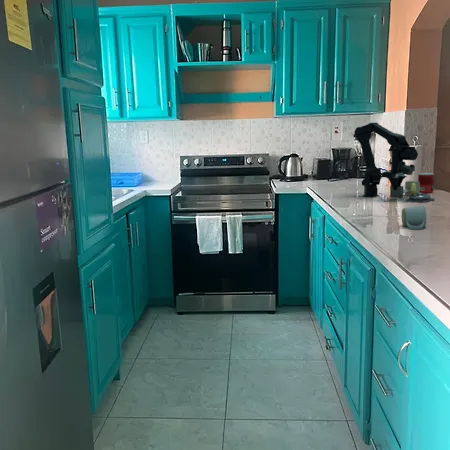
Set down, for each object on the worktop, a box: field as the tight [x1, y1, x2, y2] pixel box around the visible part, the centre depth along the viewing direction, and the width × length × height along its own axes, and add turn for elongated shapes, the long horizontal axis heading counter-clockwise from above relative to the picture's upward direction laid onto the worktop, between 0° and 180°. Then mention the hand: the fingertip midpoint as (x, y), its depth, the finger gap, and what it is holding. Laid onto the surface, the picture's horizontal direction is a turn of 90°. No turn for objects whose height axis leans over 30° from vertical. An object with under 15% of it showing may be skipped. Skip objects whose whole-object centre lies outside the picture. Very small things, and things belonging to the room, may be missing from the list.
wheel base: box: [404, 197, 435, 204], centre depth 234 cm, size 10×10×1 cm
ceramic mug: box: [401, 205, 427, 230], centre depth 174 cm, size 11×8×8 cm
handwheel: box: [408, 183, 432, 200], centre depth 233 cm, size 10×10×8 cm
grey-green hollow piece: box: [403, 180, 420, 198], centre depth 249 cm, size 7×6×8 cm
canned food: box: [417, 172, 435, 195], centre depth 260 cm, size 8×8×11 cm
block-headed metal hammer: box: [389, 185, 410, 199], centre depth 246 cm, size 6×18×6 cm, turn 125°
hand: (396, 189), depth 241 cm, fingers closed on block-headed metal hammer, 2 cm apart
